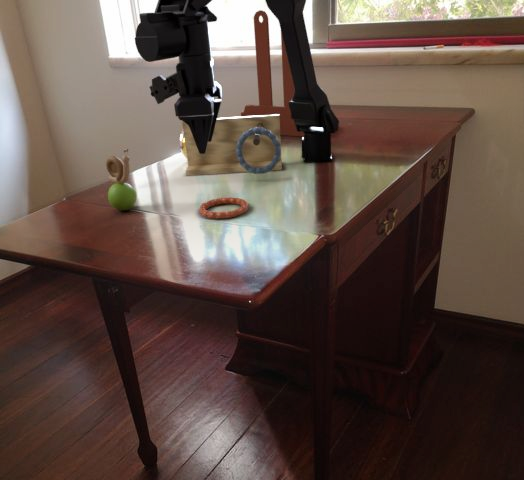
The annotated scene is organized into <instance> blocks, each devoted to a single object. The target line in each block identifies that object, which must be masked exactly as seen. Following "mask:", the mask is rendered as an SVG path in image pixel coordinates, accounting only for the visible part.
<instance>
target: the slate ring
mask: <svg viewBox="0 0 524 480" xmlns="http://www.w3.org/2000/svg"><path fill="white" fill-rule="evenodd" d="M253 134H263V135H265V136H267V137H268V138H270V139H271V140H272V142H273V144H274V146H275V155H274V158H273V160H272V162H271V163H270V164H269V165H267V166H265V167H263V168H255V167H252V166H250V165H249V164H248V163H247V162H245V160H244V158H243V156H242V146H243V143H244V141H245V140H246V139H247V138H248V137H249V136H251V135H253ZM236 153H237V158H238V160H239V162H240V164H241V166H242V167H244V168H245V169H246V170H247V171H249V172H248V173H251V174H255V175H260V174H266V173H268V172H271V171H270V170H272V169H273V168H274V167H275V166H276V164H277V163H278V161H279V158H280V155H281V156H282V147H281V148H280V143H279V141H278V139H277V137H276V136H275V135H274V134H273V133H272V132H271V131H270V130H267V129H264V128H251V129H250V130H248V131H246V132H244V133H243V134H242V136H241V137H240V138H239V140H238V143H237V146H236Z"/></svg>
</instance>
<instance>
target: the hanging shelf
mask: <svg viewBox="0 0 524 480" xmlns="http://www.w3.org/2000/svg"><path fill="white" fill-rule="evenodd" d="M260 17H262V21H260ZM269 25H270V24H269V16H268V14H267V12H266V11H265V10H257V11H255V14H254V15H253V31H254V40H255V41H254V43H255V44H254V47H255V59H256V60H255V61H256V77H257V89H258V90H257V91H258V104H246V105H245V106H244V110H242V111H240V117H242V116H257V115H273V114H279V115H280V136H290V137H291V136H292V137H293V136H294V137H304V132H297V129H296V126H295V122H294V119H291V111H290V108H289V101H291V100H292V98H293V95H294V92H295V88H294V84H293V80H292V75H291V71H290V67H289V62H288V58H287V54H286V50H285V45H284V41H283V37H282V32H281V31H280V44H281V45H280V46H281V60H282V61H281V66H282V69H281V70H282V93H283V105H273V104H274V102H273V85H272V84H273V83H272V65H271V64H272V63H271V62H272V61H271V45H270V26H269Z"/></svg>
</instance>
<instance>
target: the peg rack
mask: <svg viewBox="0 0 524 480" xmlns="http://www.w3.org/2000/svg"><path fill="white" fill-rule="evenodd" d="M181 123H182V130H183V132H184V139H185V146H186V153H187V158H186V160H187V167H186V169H185V175H186V176H202V175H203V176H204V175H221V174H238V173H250V172H249V171H247V170H246V169H245V168H244V167H242V166H241V164H240V162H239V160H238V158H237V153H236V146H237V143H238V140H239V138H240V137H241V136H242V134H243V133H244V132H246V131H248V130H250V129H251V128H264V129H267V130H270V131H271V132H272V133H273V134H274V135H275V136H276V137H277V139H278V141H279V143H280V148H281V149H282V139H281V138H282V137H281V136H282V135H280V115H279V114H273V115H257V116H242V117H241V116H227V117H217V121H216V125H215V129H214V133H213V137H212V141H211V142H208V144H207V148H206V153H205V154H200V153H199V151H198V148H197V146H196V143H195V140H194V138H193V135H192V132H191V130H190V128H189V126H188V125H187V124H186V123H185V122H183V121H182V120H181ZM274 155H275V146H274V144H273V142H272V140H271V139H270V138H268V137H267V136H265V135H263V134H253V135H251V136H249V137H248V138H247V139H246V140H245V141H244V143H243V146H242V156H243V158H244V160H245V162H247V163H248V164H249V165H250V166H252V167H255V168H263V167H265V166H267V165H269V164H270V163H271V162H272V160H273V158H274ZM282 166H283V159H282V154H281V155H280V158H279V161H278V163H277V164H276V166H275V167H274V168H273V169H272V170H270V171H269V172H271V171H272V172H273V171H282V170H283V169H282V168H283V167H282Z"/></svg>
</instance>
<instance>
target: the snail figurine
mask: <svg viewBox="0 0 524 480" xmlns="http://www.w3.org/2000/svg"><path fill="white" fill-rule="evenodd" d="M122 153H124V155H122V157H121V159H120V158H119V157H117V156H116V155H111V156H109V157H108V158H107V159H106V161H105V167H106V170H107V172H108V174H109V175H108V179H109V180H110V181H111V182H112V183H113V184H112V185H111V186H110V187H109V189H108V192H107V198H108V202H109V204H110V205H111V206H112V207H113V208H114V209H116V210H118V211H122V212H124V211H128V210H130V209H132V208H133V207H134V206H135V204H136V202H137V192H136V190H135V188H134V186H132V185H131V184H129V183H127V182H128V181H129V180H130V179H129V178H130V172H131V171H130V170H131V169H130V168H131V167H130V157H129V155H128V154H129V149H128V148H125V149H124V148H123V150H122ZM126 153H127V154H126Z"/></svg>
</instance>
